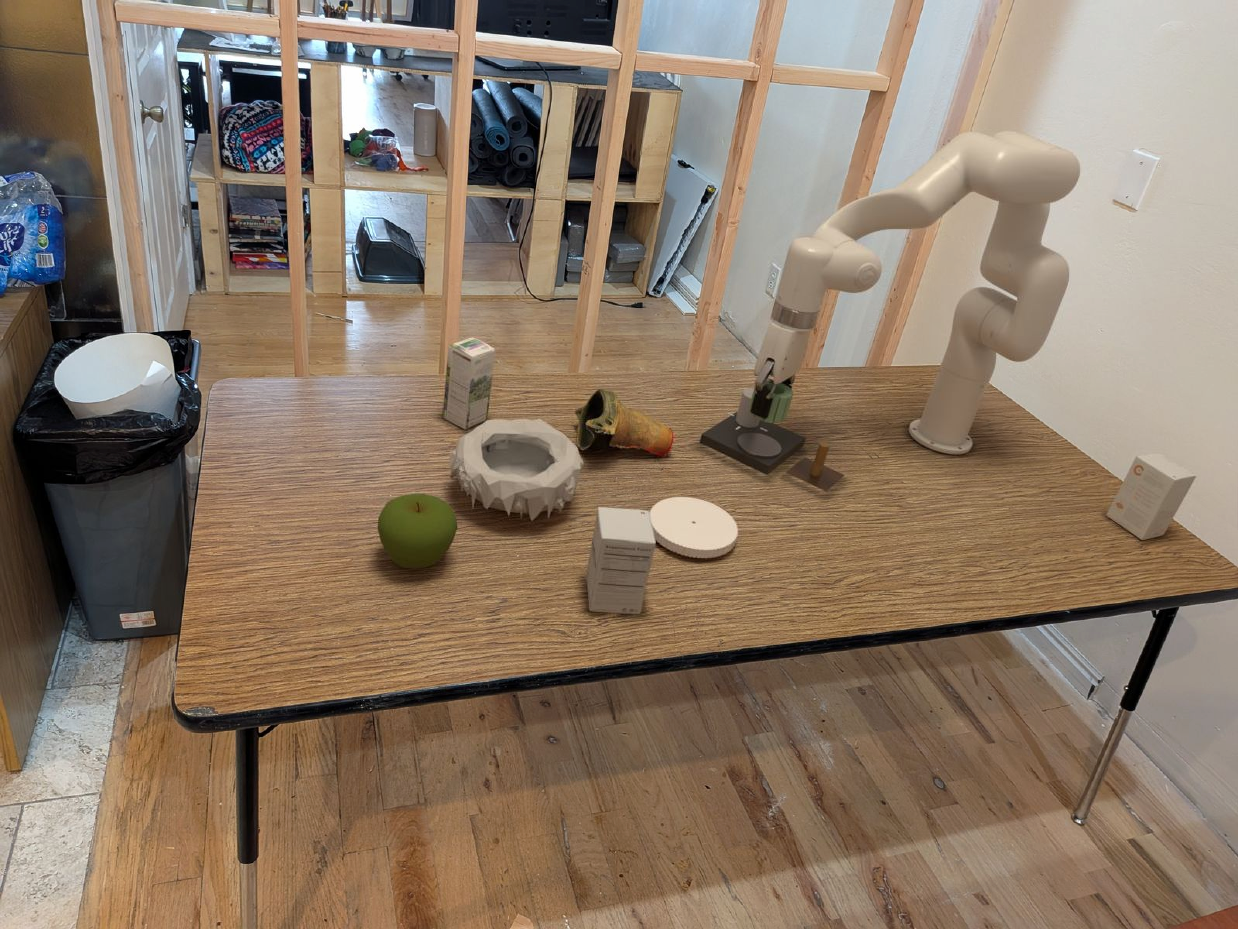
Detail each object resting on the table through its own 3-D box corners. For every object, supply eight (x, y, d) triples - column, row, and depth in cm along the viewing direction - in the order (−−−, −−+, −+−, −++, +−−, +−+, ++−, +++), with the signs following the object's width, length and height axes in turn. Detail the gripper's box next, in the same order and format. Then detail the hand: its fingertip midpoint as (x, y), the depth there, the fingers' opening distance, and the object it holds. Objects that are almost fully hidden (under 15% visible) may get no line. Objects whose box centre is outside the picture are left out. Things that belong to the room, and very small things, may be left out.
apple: (417, 596, 122) (420, 535, 117) (359, 562, 126) (359, 502, 121) (470, 559, 130) (475, 501, 125) (414, 528, 134) (417, 470, 129)
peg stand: (803, 462, 169) (813, 428, 165) (842, 480, 166) (854, 446, 162) (784, 477, 163) (794, 442, 159) (824, 497, 160) (836, 461, 156)
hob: (734, 420, 179) (738, 405, 178) (802, 451, 173) (806, 436, 171) (694, 446, 168) (697, 431, 166) (765, 480, 161) (769, 465, 160)
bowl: (601, 492, 150) (610, 439, 145) (540, 555, 133) (548, 498, 128) (492, 449, 156) (497, 397, 151) (421, 504, 139) (424, 448, 134)
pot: (696, 427, 155) (602, 390, 148) (671, 488, 156) (576, 455, 150) (661, 408, 171) (575, 374, 164) (638, 464, 172) (551, 433, 166)
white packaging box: (584, 577, 131) (597, 504, 124) (635, 581, 132) (651, 509, 125) (587, 612, 124) (600, 537, 118) (641, 616, 125) (657, 542, 119)
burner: (750, 430, 170) (750, 428, 170) (788, 448, 166) (789, 445, 166) (728, 445, 164) (729, 442, 164) (768, 463, 160) (768, 460, 160)
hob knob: (731, 421, 172) (738, 391, 169) (742, 414, 175) (750, 384, 172) (751, 430, 170) (759, 400, 167) (762, 423, 173) (770, 393, 170)
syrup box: (464, 408, 166) (470, 335, 159) (488, 421, 164) (496, 347, 156) (442, 418, 162) (446, 343, 155) (466, 431, 160) (472, 355, 152)
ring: (759, 401, 165) (766, 376, 163) (792, 415, 163) (799, 390, 160) (742, 412, 161) (748, 386, 158) (775, 427, 158) (782, 401, 155)
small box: (1163, 536, 167) (1198, 475, 160) (1141, 541, 164) (1175, 480, 157) (1126, 510, 173) (1158, 451, 166) (1104, 515, 170) (1135, 455, 163)
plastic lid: (745, 564, 139) (749, 551, 138) (655, 562, 136) (658, 549, 135) (721, 511, 151) (725, 498, 150) (638, 508, 148) (641, 495, 146)
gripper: (797, 295, 160) (772, 387, 169) (750, 318, 147) (726, 415, 156) (836, 310, 157) (808, 402, 166) (792, 335, 144) (764, 433, 153)
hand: (768, 408), depth 161 cm, fingers closed on ring, 6 cm apart
